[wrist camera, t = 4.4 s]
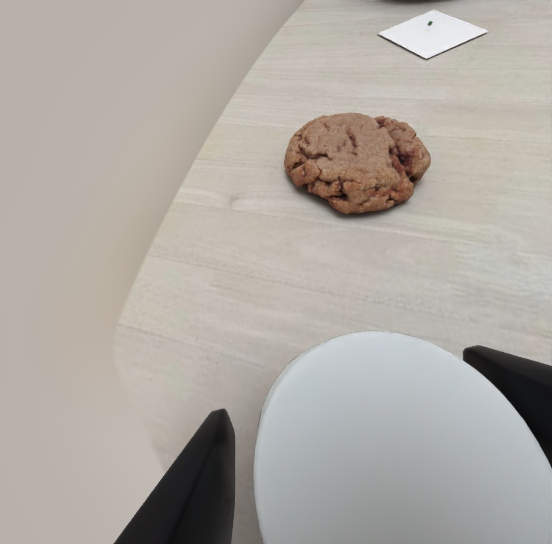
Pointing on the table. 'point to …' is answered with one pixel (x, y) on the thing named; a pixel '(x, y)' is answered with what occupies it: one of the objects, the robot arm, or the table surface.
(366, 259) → the table surface
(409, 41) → the coaster
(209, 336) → the table surface
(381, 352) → the pill bottle
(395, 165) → the cookie
